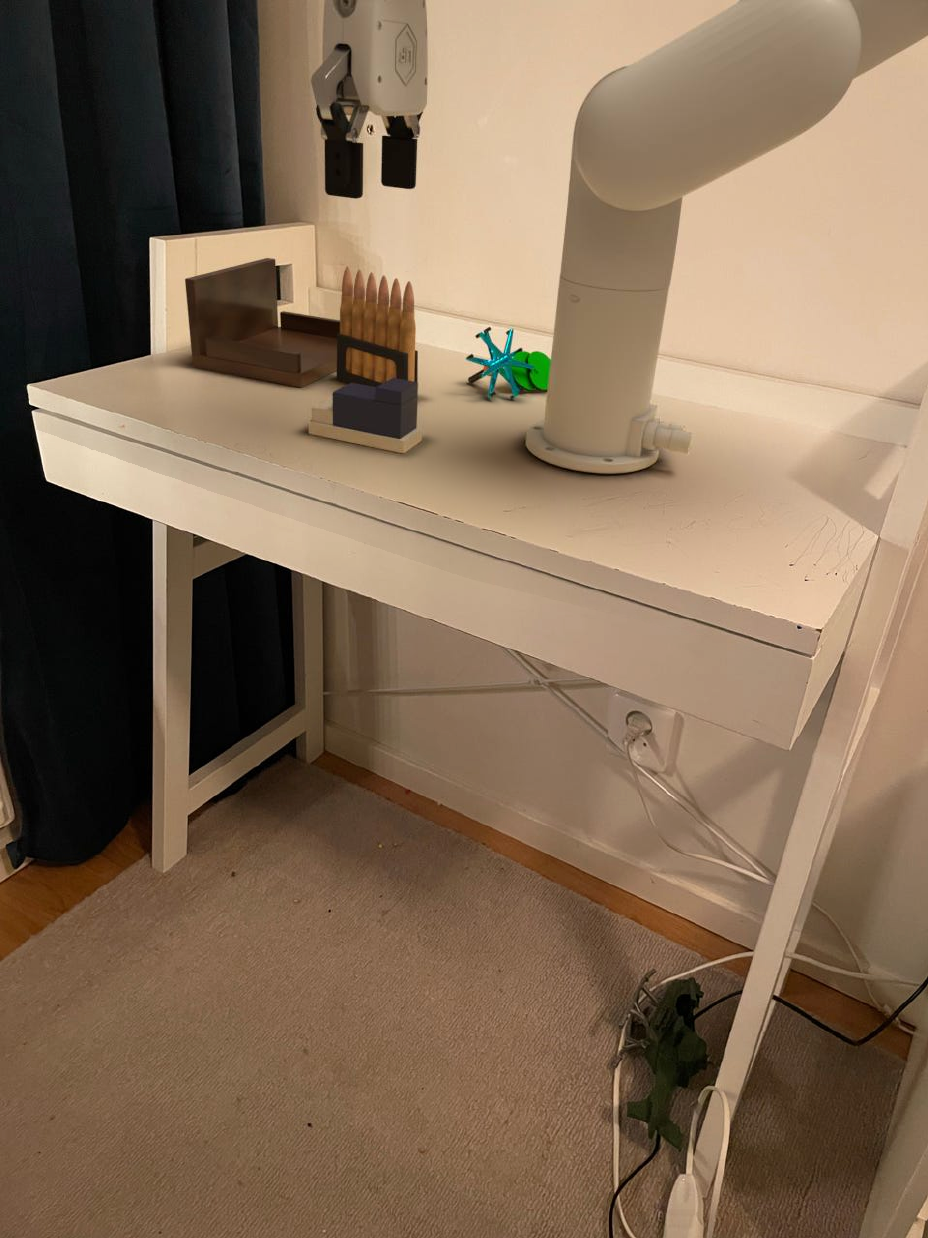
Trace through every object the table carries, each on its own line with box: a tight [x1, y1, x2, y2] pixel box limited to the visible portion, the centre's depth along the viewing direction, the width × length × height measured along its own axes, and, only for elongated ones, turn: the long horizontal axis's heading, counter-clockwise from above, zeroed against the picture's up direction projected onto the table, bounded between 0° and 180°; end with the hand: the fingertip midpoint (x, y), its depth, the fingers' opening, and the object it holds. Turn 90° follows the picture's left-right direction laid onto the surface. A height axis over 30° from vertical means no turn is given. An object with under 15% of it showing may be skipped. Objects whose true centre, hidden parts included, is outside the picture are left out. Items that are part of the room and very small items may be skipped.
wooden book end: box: [184, 257, 340, 388], centre depth 106 cm, size 16×14×10 cm
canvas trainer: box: [307, 378, 423, 454], centre depth 87 cm, size 10×4×6 cm, turn 68°
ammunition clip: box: [335, 266, 419, 387], centre depth 98 cm, size 11×2×12 cm, turn 50°
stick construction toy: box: [465, 326, 551, 400], centre depth 103 cm, size 12×7×8 cm
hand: (372, 191), depth 79 cm, fingers open, 9 cm apart
